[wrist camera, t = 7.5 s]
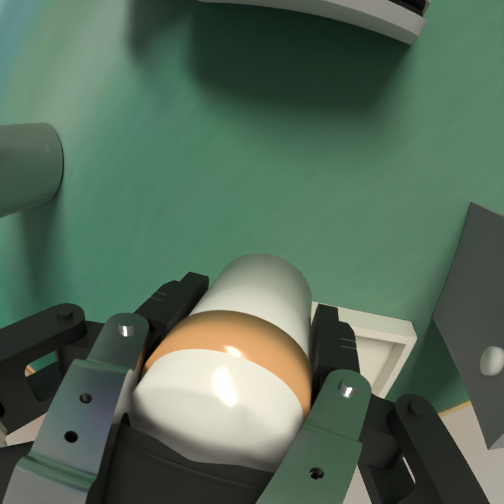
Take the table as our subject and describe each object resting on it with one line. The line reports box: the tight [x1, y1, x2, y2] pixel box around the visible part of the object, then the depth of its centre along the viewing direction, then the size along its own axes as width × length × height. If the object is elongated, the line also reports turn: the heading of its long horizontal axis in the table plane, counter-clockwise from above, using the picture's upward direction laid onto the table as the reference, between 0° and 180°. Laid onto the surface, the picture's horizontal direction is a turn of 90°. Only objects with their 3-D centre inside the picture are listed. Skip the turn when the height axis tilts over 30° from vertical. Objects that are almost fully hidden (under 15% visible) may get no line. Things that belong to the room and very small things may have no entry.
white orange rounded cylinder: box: [131, 254, 313, 473], centre depth 9 cm, size 4×4×7 cm
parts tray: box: [311, 301, 417, 399], centre depth 24 cm, size 12×12×2 cm
